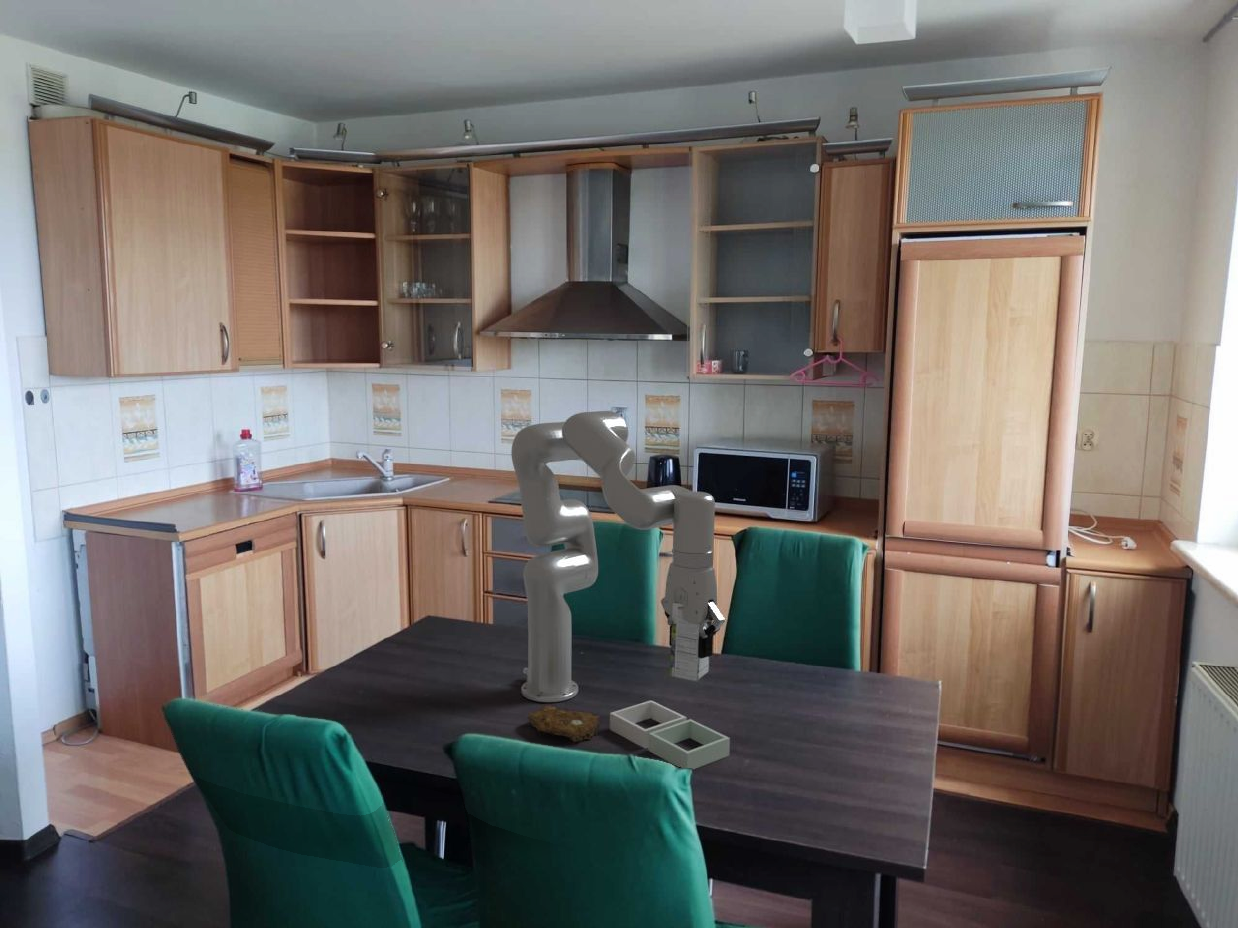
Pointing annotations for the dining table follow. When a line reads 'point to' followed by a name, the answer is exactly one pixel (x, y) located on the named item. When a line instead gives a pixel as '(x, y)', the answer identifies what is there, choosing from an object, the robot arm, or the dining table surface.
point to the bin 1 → (627, 718)
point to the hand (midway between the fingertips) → (690, 650)
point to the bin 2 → (710, 752)
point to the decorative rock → (565, 723)
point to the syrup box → (686, 648)
